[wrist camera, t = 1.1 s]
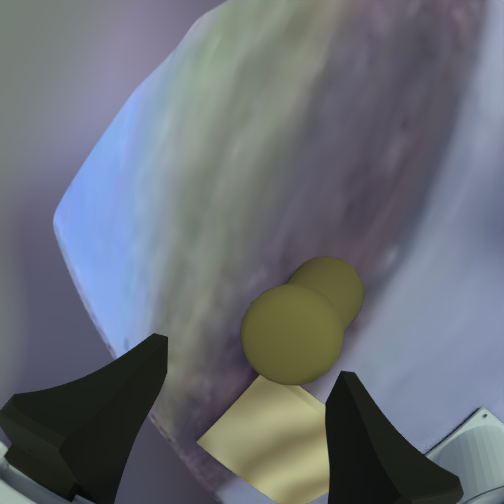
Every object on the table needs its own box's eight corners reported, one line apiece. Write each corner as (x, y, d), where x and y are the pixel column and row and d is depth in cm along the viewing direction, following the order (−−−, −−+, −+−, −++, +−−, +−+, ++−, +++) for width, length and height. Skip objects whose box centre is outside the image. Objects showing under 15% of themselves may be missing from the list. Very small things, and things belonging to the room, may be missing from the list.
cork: (329, 345, 23) (287, 423, 13) (274, 297, 25) (200, 344, 15) (379, 290, 22) (376, 346, 12) (320, 240, 23) (269, 254, 13)
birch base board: (384, 447, 22) (383, 457, 20) (295, 502, 26) (290, 510, 25) (270, 362, 26) (263, 370, 24) (203, 435, 30) (196, 442, 29)
